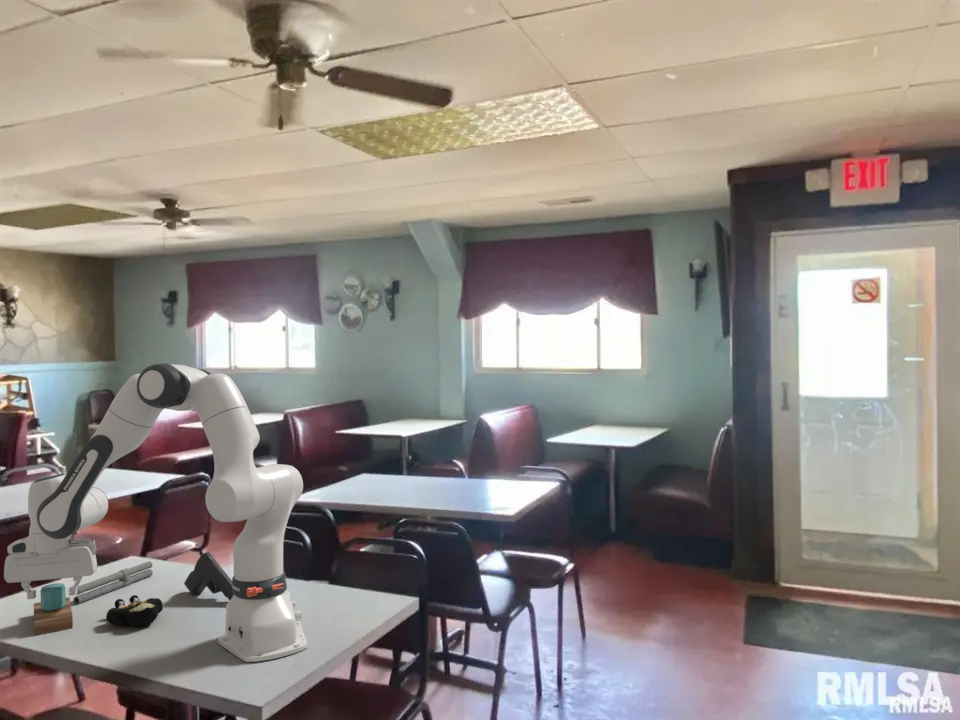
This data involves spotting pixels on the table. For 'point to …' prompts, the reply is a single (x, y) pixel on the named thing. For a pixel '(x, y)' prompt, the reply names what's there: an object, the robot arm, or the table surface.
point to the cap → (53, 596)
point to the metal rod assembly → (121, 576)
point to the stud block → (52, 618)
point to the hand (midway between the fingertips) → (52, 596)
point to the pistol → (209, 577)
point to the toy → (135, 611)
